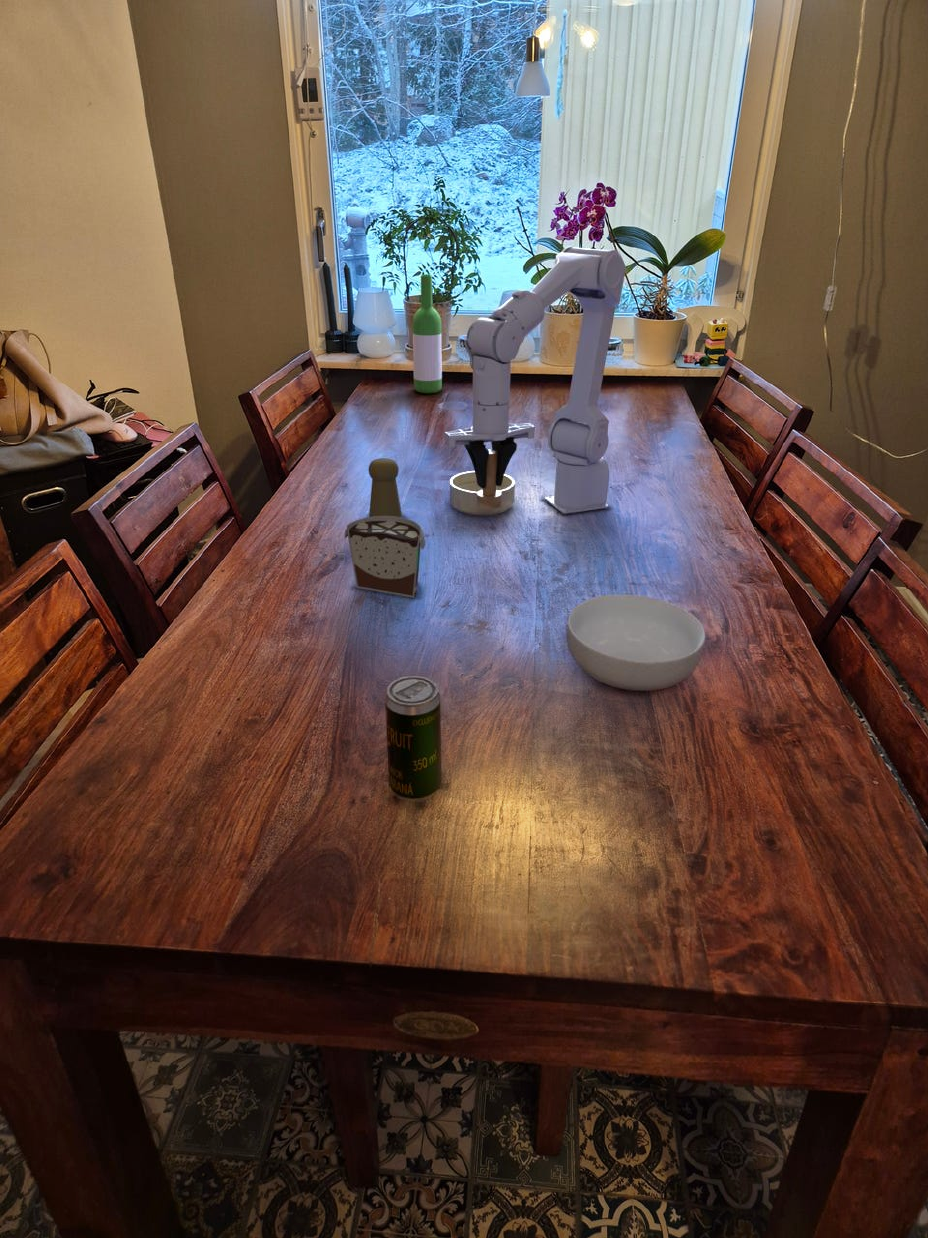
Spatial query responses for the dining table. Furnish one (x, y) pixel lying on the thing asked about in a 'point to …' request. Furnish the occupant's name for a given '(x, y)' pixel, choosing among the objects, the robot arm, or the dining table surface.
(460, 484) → the beige round dish
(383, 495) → the cork
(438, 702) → the green soda can
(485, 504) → the pestle
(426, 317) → the wine bottle
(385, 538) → the food container
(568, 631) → the cereal bowl
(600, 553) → the dining table surface
